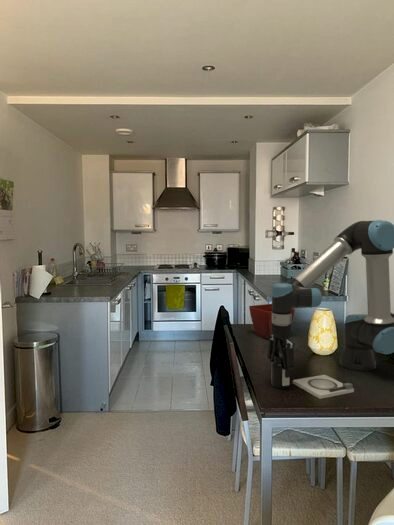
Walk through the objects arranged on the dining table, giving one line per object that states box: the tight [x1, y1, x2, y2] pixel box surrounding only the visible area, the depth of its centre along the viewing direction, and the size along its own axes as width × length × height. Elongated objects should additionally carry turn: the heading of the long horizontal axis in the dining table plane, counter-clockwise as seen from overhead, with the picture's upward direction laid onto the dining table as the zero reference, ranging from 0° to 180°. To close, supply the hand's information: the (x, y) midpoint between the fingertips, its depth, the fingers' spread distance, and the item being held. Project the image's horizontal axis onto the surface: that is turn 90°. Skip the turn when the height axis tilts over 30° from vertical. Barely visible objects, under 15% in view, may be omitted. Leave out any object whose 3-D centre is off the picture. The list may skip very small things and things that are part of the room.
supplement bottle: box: [270, 353, 290, 389], centre depth 154 cm, size 7×7×12 cm
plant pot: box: [248, 303, 296, 340], centre depth 226 cm, size 19×19×17 cm
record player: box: [292, 374, 355, 400], centre depth 152 cm, size 16×16×3 cm
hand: (280, 381), depth 154 cm, fingers closed on supplement bottle, 7 cm apart
